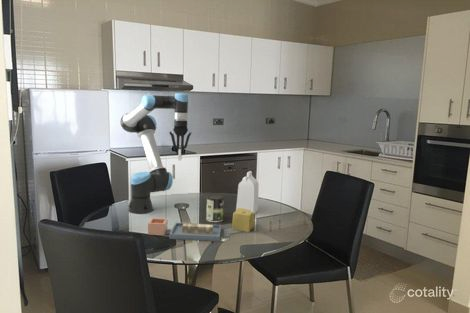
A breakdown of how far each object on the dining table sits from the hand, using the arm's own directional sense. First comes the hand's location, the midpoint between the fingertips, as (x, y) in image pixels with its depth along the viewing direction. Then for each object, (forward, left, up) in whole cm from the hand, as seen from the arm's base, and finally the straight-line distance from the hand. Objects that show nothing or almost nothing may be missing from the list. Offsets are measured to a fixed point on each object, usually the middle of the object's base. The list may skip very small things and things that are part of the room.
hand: (179, 160), depth 225 cm
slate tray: (+14, -28, -34) cm, 47 cm away
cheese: (+39, -16, -35) cm, 55 cm away
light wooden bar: (+7, -28, -34) cm, 45 cm away
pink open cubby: (-6, -28, -34) cm, 45 cm away
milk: (+42, +17, -35) cm, 57 cm away
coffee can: (+22, -3, -35) cm, 41 cm away
